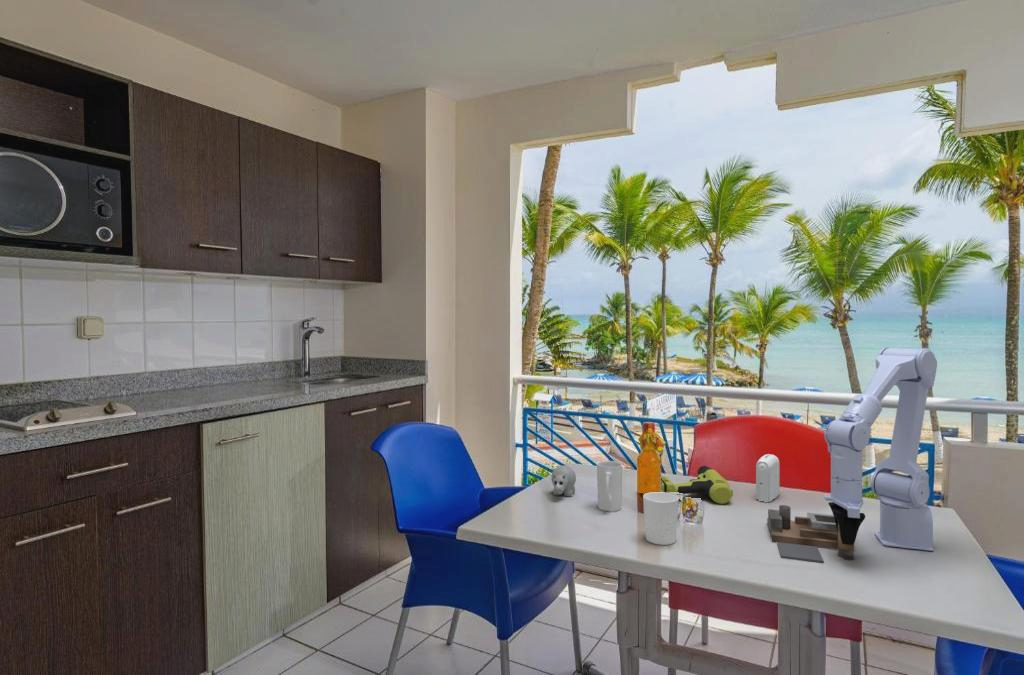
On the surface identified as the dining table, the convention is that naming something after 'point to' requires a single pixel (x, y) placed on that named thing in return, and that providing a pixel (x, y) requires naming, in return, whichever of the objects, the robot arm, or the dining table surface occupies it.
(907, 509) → the robot arm
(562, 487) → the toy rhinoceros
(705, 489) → the cordless drill
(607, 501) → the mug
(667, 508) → the white cup
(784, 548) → the pad
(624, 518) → the dining table surface
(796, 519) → the chuck base
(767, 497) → the photo printer
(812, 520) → the grey square frame
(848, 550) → the wooden square peg
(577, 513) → the dining table surface
